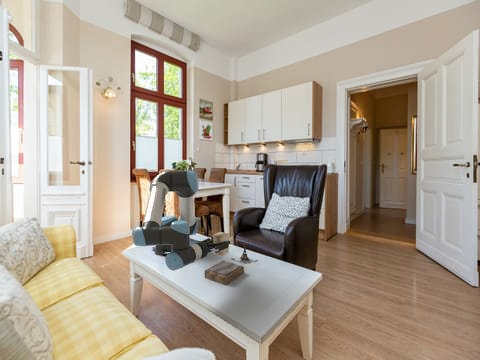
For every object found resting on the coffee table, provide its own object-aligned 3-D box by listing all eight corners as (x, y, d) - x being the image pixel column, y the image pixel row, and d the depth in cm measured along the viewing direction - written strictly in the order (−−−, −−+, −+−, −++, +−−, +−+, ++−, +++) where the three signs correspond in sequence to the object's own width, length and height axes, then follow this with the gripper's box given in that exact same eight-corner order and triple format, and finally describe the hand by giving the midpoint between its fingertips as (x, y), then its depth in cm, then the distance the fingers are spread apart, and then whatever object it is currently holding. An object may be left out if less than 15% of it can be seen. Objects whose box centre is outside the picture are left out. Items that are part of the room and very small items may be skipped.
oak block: (212, 253, 122) (212, 234, 122) (219, 250, 127) (220, 231, 127) (221, 255, 119) (222, 236, 119) (228, 252, 124) (229, 233, 124)
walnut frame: (204, 277, 122) (204, 269, 121) (223, 266, 135) (223, 259, 135) (226, 285, 114) (226, 277, 114) (243, 272, 128) (243, 265, 127)
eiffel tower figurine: (229, 260, 146) (229, 238, 145) (239, 255, 154) (239, 235, 153) (249, 266, 137) (249, 243, 136) (258, 260, 145) (259, 239, 145)
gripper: (182, 255, 114) (213, 242, 133) (212, 264, 103) (241, 249, 122) (182, 239, 113) (213, 229, 132) (212, 247, 103) (241, 235, 122)
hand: (226, 239), depth 127 cm, fingers closed on oak block, 6 cm apart
